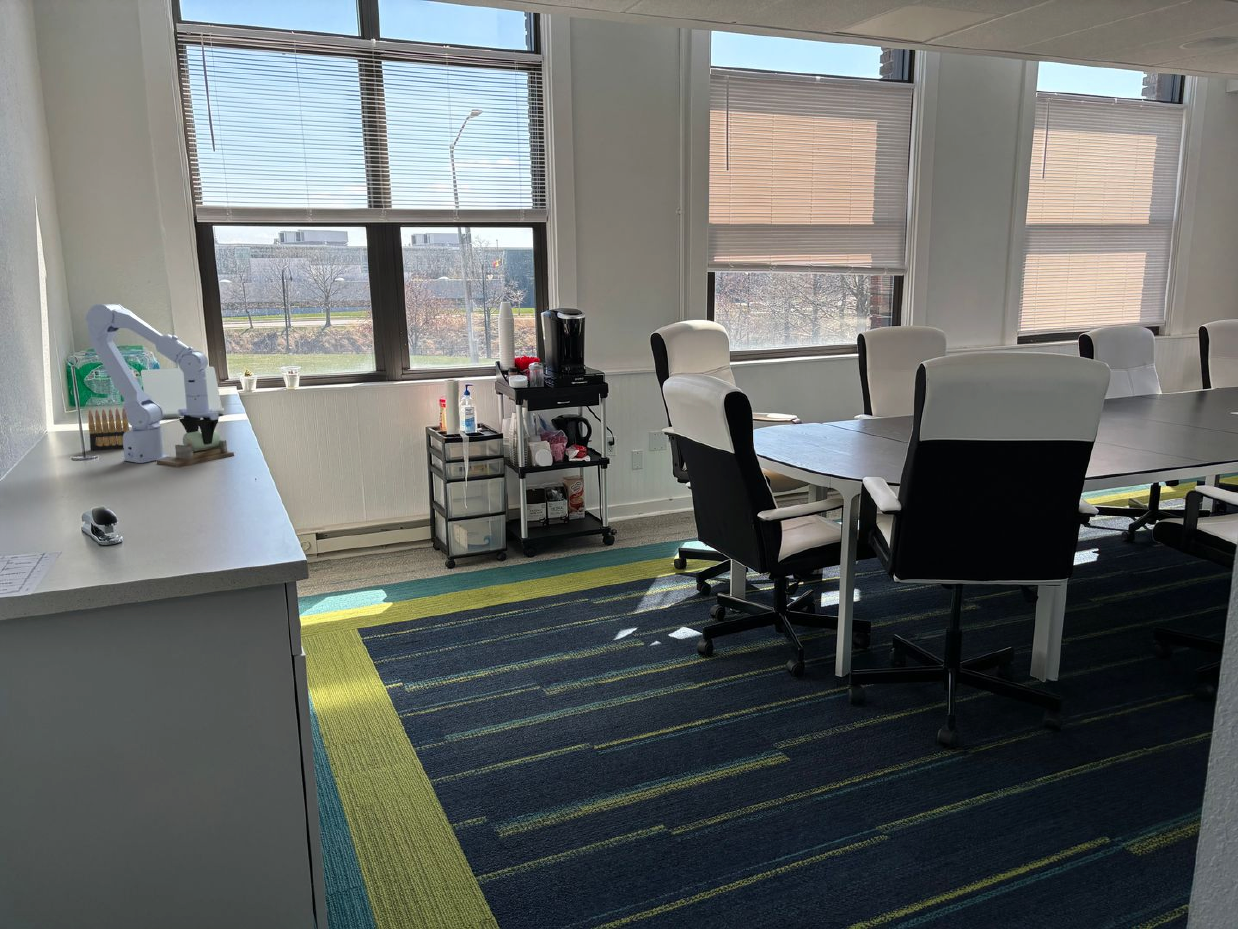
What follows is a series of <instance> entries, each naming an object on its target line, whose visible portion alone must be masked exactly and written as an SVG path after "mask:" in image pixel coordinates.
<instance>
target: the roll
mask: <svg viewBox="0 0 1238 929" xmlns="http://www.w3.org/2000/svg"><path fill="white" fill-rule="evenodd" d="M220 440H221V439H220V434H219V433H218V431H217V430H216V429H215V430H214V434H213V439H212V444H206V445H205V444H204V443H203V439H202V433H201V430H199V431H197V432H191V433H187V432H186V433H184V434H183V437H182V445H185V446H192V448H193V451H196V450H201V449H206V448H212V447H216V446H218V445H219V442H220Z"/></svg>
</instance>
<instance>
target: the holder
mask: <svg viewBox="0 0 1238 929" xmlns="http://www.w3.org/2000/svg"><path fill="white" fill-rule="evenodd" d="M174 447H175V448H174V449H175V456H171V457H170V458H164V459H159V460H156V464H158V465H164V466H170V467H177V468H179V467H184V466H188V465H194V464H199V463H203V462H204V463H205V462H210V461H213V460H214V461H215V460H218V459H219V460H220V459H224V458H230V457H233V456H235V452H234V451H228V445H227V440H225V439H220V442H219V445H218V446H216V447H212V448H206V449H201V450H196V451H193V448H192V446H185V445H183V444H174Z"/></svg>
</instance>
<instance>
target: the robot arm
mask: <svg viewBox="0 0 1238 929" xmlns="http://www.w3.org/2000/svg"><path fill="white" fill-rule="evenodd" d="M85 321H86V323H87V327H88V330H87V331H88V332H87V333H88V342H89V344H90V346H91V347H92V349H93V350H94V352H95V354H96V355H97V357H98V359H99V360H100V362H101V364H102V366H103V368H104V369H105V370H106V372H107V374H108V375H109V377H110V379H111V380H112V382H113V384H114V385H115V387H116V388H117V391H118V392H119V394H120V396H121V398H122V399H123V408H124V409H125V411H126V415H127V421H128V424H129V425H130V426H131V429H129V431H127V432H125V433H124V434H123V448H124V449H123V456H124V457H123V458H122V461H126V462H132V463H138V464H142V463H143V464H144V463H147V462H148V463H149V462H154V461H157V460H159V459H164V458H170V457H172V456H171V455H168V454H164V446H163V435H162V434H163V433H162V427H161V426H162V425H161V423H160V422H161V421H162V420H163V419H162V417H163V410H162V408H161V407H160V406H159V405H158V404H157V403H155V402H154V401H153V400H152V398H151V397H150V396H149V395H148V394H146V393H145V392H144V390H143V387H142V386H141V385H140V384H139V382H138V380H137V378H136V377H135V375H134V374H133V372H132V370H131V368H130V367H129V365H128V364H127V362H126V360H125V358H124V357H123V355H122V353H121V352H120V350H119V349H118V347H117V345H116V344H115V341H114V339H115V337H116V334H117V332H118V330H120V329H128V330H130V331H132V332H133V333H135V334H137V335H139V336H140V337H142V338H143V339H145V340H147V341H148V342H150V343H152V344H154V345H155V349H156V352H157V353H159V354H160V355H162V356H164V357H166V359H169V360H170V361H172V362H173V363H174V364H176V365H178V368H180V369H181V370H182V371H183V373H184V386H185V397H186V407H187V409H178V411H179V416H184V417H180V418H178V419H179V422H180V423H181V425H182V426H183V428H184V430H185V432H186V433H191V432H197V431H201V433H202V439H203V443H204V444H205V445H206V444H212V439H213V434H214V430H216V427H217V425H218V423H219V419H220V417H219V416H220V415H218V412H214V411H212V409H209V403H208V391H207V380H206V371H205V370H204V369H206V367H208V364H209V361H208V357H207V356H206V355H205V354H204V353H203V351H200V350H195V349H194V347H192V346H189V345H187V344H185V343H183V342H182V341H181V340H179V337H178V335H175V334H173V335H171V334H164V335H163V334H162V333H160V332H159V331H157V330H156V329H155V328H154V327H152V326H151V325H149V323H147V322H146V321H145V320H143V319H141V318H140V317H138V316H137V314H134V312H132V311H131V310H130V309H128V308H124V307H123V306H122V305H121V304H119V303H115V302H113V303H105V304H104V303H103V304H102V303H98V304H96V303H95V304H94V305H92V306H90V307H89V309H88V312H87V314H86V316H85ZM123 408H122V409H123ZM199 415H201V416H199ZM199 429H200V430H199Z"/></svg>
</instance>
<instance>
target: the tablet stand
mask: <svg viewBox="0 0 1238 929" xmlns="http://www.w3.org/2000/svg"><path fill="white" fill-rule="evenodd" d="M204 370H205V371H206V380H207V391H208V403H209V409H212V411H214V412H218V416H220V415H221V414H222V415H224V413H225V408H224V407H222V402H221V396H220V390H219V385H218V379H217V375H216V370H215V367H214V366H207V367H206V369H204ZM140 377H141V381H142V390H143V391H144V392H145V393H146V394H148V395H149V396H150V397H151V398H152V400H153V401H154V402H155V403H157V404H158V405H159V406H160V407H161V408H162V410H163V417H162V419H161V420H163V419H176V418H178V419H181V418H183V417H184V416H179V411H178V409H187V407H186V397H185V386H184V373H183V371H182V370H181V369H180V367H175V368H154V369H152V368H151V369H142V370H140ZM199 416H201V415H199Z"/></svg>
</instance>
